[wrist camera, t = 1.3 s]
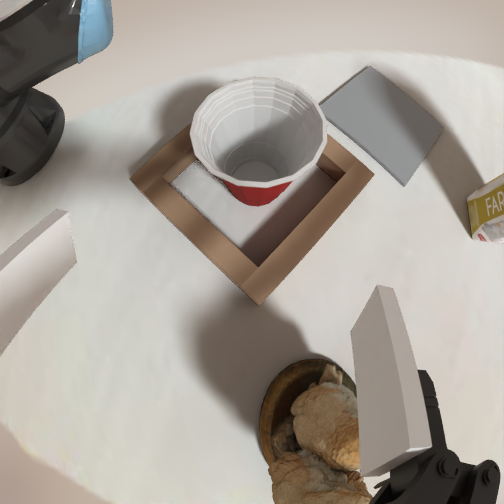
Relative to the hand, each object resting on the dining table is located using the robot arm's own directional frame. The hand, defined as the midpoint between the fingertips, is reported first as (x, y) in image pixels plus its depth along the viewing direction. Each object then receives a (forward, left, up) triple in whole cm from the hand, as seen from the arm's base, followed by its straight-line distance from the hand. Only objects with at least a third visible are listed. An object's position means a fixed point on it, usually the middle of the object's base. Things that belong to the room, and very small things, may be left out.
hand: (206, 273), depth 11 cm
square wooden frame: (-7, +11, -19) cm, 23 cm away
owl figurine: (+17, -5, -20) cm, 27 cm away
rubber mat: (-1, +32, -19) cm, 37 cm away
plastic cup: (-7, +11, -20) cm, 23 cm away
